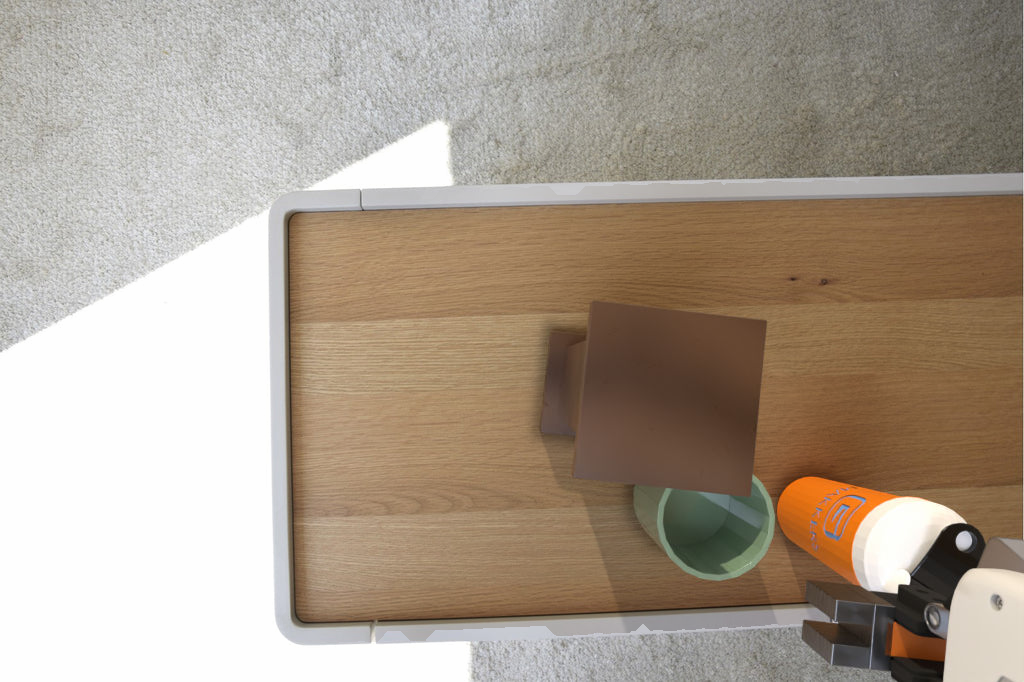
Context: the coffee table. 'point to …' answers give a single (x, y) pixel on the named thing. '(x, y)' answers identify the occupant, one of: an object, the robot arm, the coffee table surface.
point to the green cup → (708, 528)
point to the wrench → (861, 629)
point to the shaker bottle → (879, 535)
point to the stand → (658, 397)
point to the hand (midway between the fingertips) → (896, 624)
